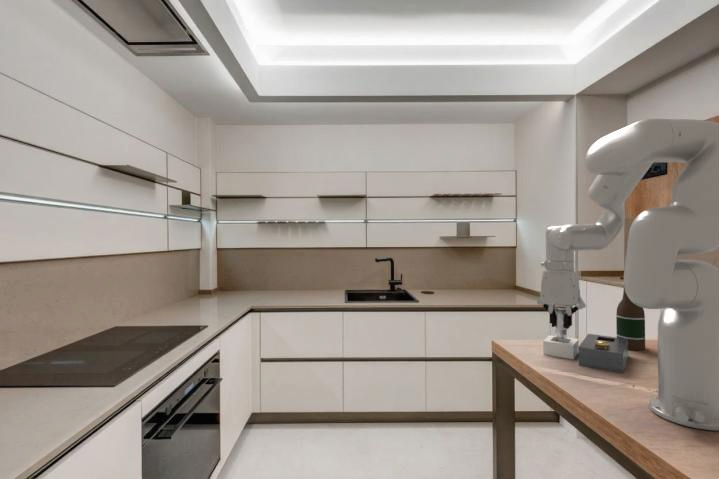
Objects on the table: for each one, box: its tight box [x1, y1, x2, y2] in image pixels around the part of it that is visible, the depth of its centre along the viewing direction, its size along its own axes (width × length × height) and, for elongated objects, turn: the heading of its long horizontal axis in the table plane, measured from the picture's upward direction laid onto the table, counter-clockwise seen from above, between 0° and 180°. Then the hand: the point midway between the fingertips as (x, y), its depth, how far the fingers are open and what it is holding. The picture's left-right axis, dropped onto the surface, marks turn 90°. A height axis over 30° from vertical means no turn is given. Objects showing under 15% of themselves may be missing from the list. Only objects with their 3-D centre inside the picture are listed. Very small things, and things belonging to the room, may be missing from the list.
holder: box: [542, 334, 580, 360], centre depth 112 cm, size 8×8×5 cm
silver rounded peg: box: [554, 307, 568, 343], centre depth 112 cm, size 3×3×12 cm
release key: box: [594, 340, 610, 349], centre depth 102 cm, size 4×4×6 cm
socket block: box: [578, 333, 629, 374], centre depth 105 cm, size 17×10×6 cm, turn 140°
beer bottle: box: [615, 275, 646, 352], centre depth 116 cm, size 8×8×24 cm
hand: (560, 326), depth 112 cm, fingers closed on silver rounded peg, 3 cm apart
